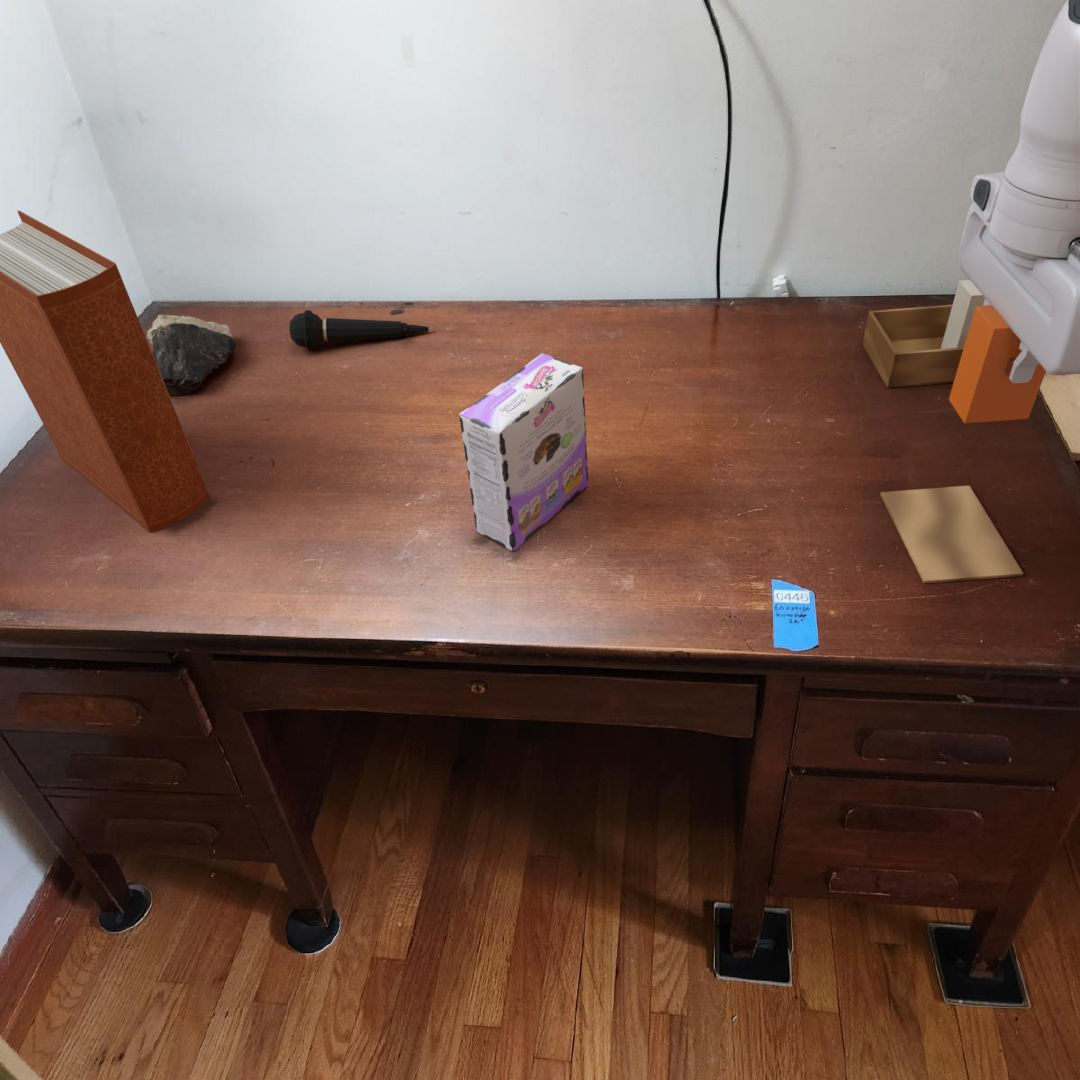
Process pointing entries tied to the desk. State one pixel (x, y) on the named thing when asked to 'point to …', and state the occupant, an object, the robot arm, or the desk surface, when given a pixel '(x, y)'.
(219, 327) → the mineral specimen
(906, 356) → the wooden box
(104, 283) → the book
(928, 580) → the cork mat
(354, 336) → the microphone
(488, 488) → the candy box
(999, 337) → the block
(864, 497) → the desk surface
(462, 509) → the desk surface
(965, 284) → the block
